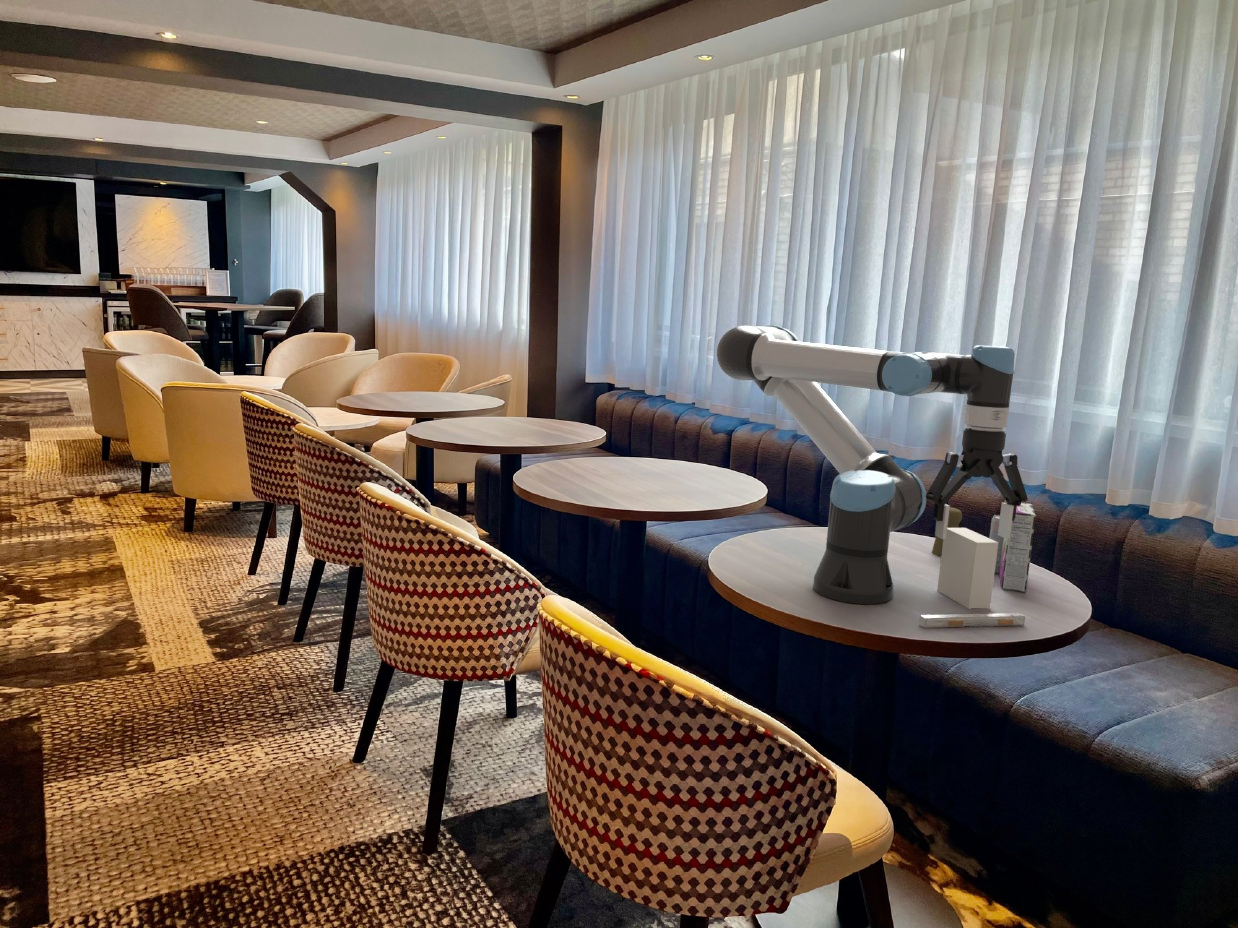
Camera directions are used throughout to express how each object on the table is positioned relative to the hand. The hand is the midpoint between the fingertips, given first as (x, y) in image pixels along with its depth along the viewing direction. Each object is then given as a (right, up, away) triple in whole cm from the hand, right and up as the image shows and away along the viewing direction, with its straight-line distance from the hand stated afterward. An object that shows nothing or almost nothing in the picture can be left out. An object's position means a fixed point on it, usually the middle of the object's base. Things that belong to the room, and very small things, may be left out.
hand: (972, 537), depth 174 cm
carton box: (-1, -12, +2) cm, 13 cm away
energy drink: (+15, -9, +24) cm, 30 cm away
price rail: (-5, -15, -13) cm, 20 cm away
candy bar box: (+14, -11, +15) cm, 23 cm away
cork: (+8, -7, +35) cm, 37 cm away
